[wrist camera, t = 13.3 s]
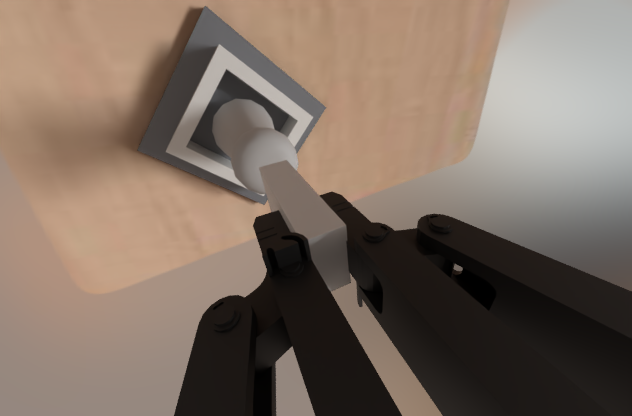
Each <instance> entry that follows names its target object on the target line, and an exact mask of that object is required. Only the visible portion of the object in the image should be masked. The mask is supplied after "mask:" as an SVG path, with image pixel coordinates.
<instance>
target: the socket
mask: <svg viewBox="0 0 632 416" xmlns="http://www.w3.org/2000/svg"><path fill="white" fill-rule="evenodd" d="M234 99H247V100H252V101H254V102H255V103H257V104H259V105H261V106H263V107H264V109H265V110H266V111H267V113H268V114H269V116H270V117H271V118H272V122H273V125H274V129H275V130H276V131H278V132H280V133H282V134H284V135H286V136H287V138H288V139H289V140H290V142H291V143H292V145H293V146H294V148H295V150H296V153H298V151H299V149H300V148H301V146H302V145H303V143H304V142H305V140H306V138H307V137H308V135H309V134H310V132H311V131H312V129H313V127H314V126H315V124H316V123H317V121H318V120H319V118H320V116H321V115H322V113H323V112H324V110H325V109H326V107H325V106H324V105H323V104H321V103H320V102H319V101H318V100H317V99H316V98H314V97H313V96H312V95H311V94H310V93H308V92H307V91H306V90H305V89H304V88H302V87H301V86H300V85H299V84H298V83H297V82H295V81H294V80H293V79H292V78H291V77H289V76H288V75H287V74H286V73H285V72H283V71H282V70H281V69H280V68H279V67H278V66H276V65H275V64H274V63H273V62H272V61H270V60H269V59H268V58H267V57H266V56H264V55H263V54H262V53H261V52H260V51H258V50H257V49H256V48H255V47H254V46H253V45H251V44H250V43H249V42H248V41H247V40H245V39H244V38H243V37H242V36H241V35H239V34H238V33H237V32H236V31H235V30H234V29H232V28H231V27H230V26H229V25H228V24H226V23H225V22H224V21H223V20H222V19H220V18H219V17H218V16H217V15H216V14H215V13H213V12H212V11H211V10H210V9H209V8H207V7H206V6H205V7H204V9H203V11H202V13H201V15H200V17H199V20H198V22H197V24H196V26H195V28H194V30H193V32H192V35H191V37H190V39H189V41H188V43H187V45H186V47H185V49H184V52H183V54H182V56H181V58H180V60H179V62H178V64H177V67H176V69H175V71H174V73H173V75H172V77H171V79H170V82H169V84H168V86H167V88H166V90H165V92H164V94H163V96H162V99H161V101H160V103H159V105H158V107H157V109H156V111H155V114H154V116H153V118H152V120H151V122H150V124H149V126H148V129H147V131H146V133H145V135H144V137H143V139H142V141H141V143H140V146H139V148H138V151H140V152H142V153H145V154H147V155H149V156H152V157H154V158H156V159H159V160H161V161H163V162H166V163H168V164H170V165H172V166H175V167H177V168H179V169H182V170H184V171H186V172H189V173H191V174H193V175H196V176H198V177H200V178H203V179H205V180H207V181H210V182H212V183H214V184H217V185H219V186H221V187H224V188H226V189H228V190H231V191H233V192H235V193H238V194H240V195H242V196H245V197H247V198H249V199H252V200H254V201H256V202H259V203H261V204H263V205H265V203H266V201H267V200H268V198H267V195H266V194H259V193H256V192H253V191H250V190H248V189H247V188H246V187H245V186H244V185H243V184H242V183H241V182H240V181H239V180H238V179H237V178H236V177H235V174H234V171H233V168H232V164H231V158H230V157H229V156H228V155H226V154H225V153H224V152H223V151H222V150H221V149H220V148H219V147H218V146H217V145H216V142H215V138H214V135H213V132H212V127H213V118H214V115H215V114H216V113H217V111H218V110H219V109H220V107H221V106H222V105H223V104H225V103H227V102H230V101H232V100H234Z"/></svg>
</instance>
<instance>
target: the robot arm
mask: <svg viewBox="0 0 632 416" xmlns="http://www.w3.org/2000/svg"><path fill="white" fill-rule="evenodd" d="M259 170H260V174H261V177H262V181H263V184H264V188H265V191H266V195H267V198H268V202H269V206H270V209H271V213H268V214H265V215H262V216H259V217H256V219H255V222H254V225H253V227H254V230H255V233H256V236H257V239H258V242H259V245H260V248H261V251H262V257H263V260H264V262H265V265H266V268H267V273H266V277H265V279H264V281H263V282H262V283H261V285H260V286H259V287H258V288H257V289H256V290H254V291H253V292H252V293H250V294H249V295H248V296H246V297H242V296H239V295H234V296H227V297H225V298H222V299H219V300H218V301H217V302H215V303H214V304H212V305H211V306H210V307H209V308H208V309H207V310H206V312H205V313H204V314H203V316H202V318H201V320H200V322H199V325H198V329H197V332H196V337H195V340H194V344H193V347H192V351H191V355H190V358H189V362H188V366H187V370H186V373H185V377H184V381H183V384H182V388H181V392H180V396H179V399H178V403H177V406H176V410H175V414H174V416H276V368H275V362H276V361H277V360H278V359H279V358H280V357H281V356H282V355H283V354H284V353H285V352H286V351H287V350H289V348H291V347H292V346H293V349H294V352H295V355H296V358H297V361H298V364H299V368H300V371H301V374H302V376H303V380H304V383H305V386H306V388H307V392H308V395H309V398H310V401H311V404H312V406H313V410H314V413H315V416H402V415H401V413H400V411H399V409H398V408H397V406H396V404H395V403H394V401H393V399H392V397H391V396H390V394H389V392H388V390H387V389H386V387H385V385H384V384H383V382H382V380H381V378H380V377H379V375H378V373H377V372H376V370H375V368H374V366H373V364H372V363H371V361H370V359H369V358H368V356H367V354H366V353H365V351H364V349H363V347H362V346H361V344H360V342H359V340H358V339H357V337H356V335H355V333H354V332H353V330H352V328H351V327H350V325H349V323H348V321H347V320H346V318H345V316H344V315H343V313H342V311H341V309H340V308H339V306H338V304H337V302H336V301H335V299H334V297H333V295H332V294H331V291H333V290H336V289H338V288H340V287H342V286H344V285H347V284H349V283H351V280H350V273H351V275H352V276H353V277H354V279H355V280H356V282H357V300H358V304H359V307H362V299H363V301H364V302H365V304H366V305H367V306H368V308H369V309H370V311H371V312H372V314H373V315H374V317H375V318H376V319H377V321H378V322H379V324H380V325H381V327H382V328H383V329H384V331H385V332H386V334H387V335H388V337H389V338H390V340H391V341H392V343H393V344H394V346H395V347H396V348H397V350H398V351H399V353H400V354H401V356H402V357H403V358H404V360H405V361H406V363H407V364H408V366H409V367H410V369H411V370H412V372H413V373H414V374H415V376H416V377H417V379H418V380H419V382H420V383H421V385H422V386H423V387H424V389H425V390H426V392H427V393H428V395H429V396H430V398H431V399H432V401H433V402H434V403H435V405H436V406H437V408H438V409H439V411H440V412H441V414H442V415H443V416H632V292H631V291H629V290H626V289H624V288H622V287H619V286H617V285H614V284H612V283H610V282H607V281H605V280H602V279H600V278H597V277H595V276H593V275H590V274H588V273H585V272H583V271H581V270H578V269H576V268H573V267H571V266H568V265H566V264H563V263H561V262H559V261H556V260H554V259H552V258H549V257H546V256H544V255H542V254H539V253H537V252H535V251H532V250H530V249H527V248H525V247H522V246H520V245H518V244H515V243H512V242H510V241H508V240H506V239H503V238H501V237H498V236H496V235H493V234H491V233H489V232H486V231H484V230H481V229H479V228H476V227H474V226H472V225H469V224H467V223H464V222H462V221H460V220H457V219H455V218H452V217H449V216H446V215H441V214H430V215H426V216H424V217H421V218H420V219H419V221H418V225H417V228H416V229H407V230H399V231H394V230H393V229H392V228H390V227H389V226H387V225H385V224H382V223H371V222H370V221H369V220H368V219H367V218H366V217H365V216H364V215H363V214H361V213H360V212H359V211H358V210H357V209H356V208H355V207H353V206H352V204H351V203H350V202H348V201H347V200H346V199H345V198H344V197H343V196H342V195H340V194H337V193H334V192H329V193H326V194H323V195H320V196H319V195H318V194H317V193H316V192H315V191H314V189H313V188H312V187H311V186H310V185H309V184H308V183H307V182H306V181H305V180H304V179H303V177H302V176H301V175H300V174H299V173H298V172H297V171H296V170H295V169H294V168H293V167H292V165H291V164H290V163H289V162H288V161H287V160H284V161H281V162H277V163H273V164H270V165H266V166H262V167H259ZM454 264H457V265H459V266H461V267H462V268H463V270H462V271H456V270H454V269H453V268H454Z"/></svg>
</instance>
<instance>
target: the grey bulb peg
mask: <svg viewBox="0 0 632 416" xmlns="http://www.w3.org/2000/svg"><path fill="white" fill-rule="evenodd" d="M212 132H213V135H214V138H215V142H216V145H217V146H218V147H219V148H220V149H221V150H222V151H223V152H224V153H225V154H226V155H228V156H229V157H230V158H231V164H232V168H233V171H234V174H235V177H236V178H237V179H238V180H239V181H240V182H241V183H242V184H243V185H244V186H245V187H246V188H247V189H248V190H250V191H253V192H256V193H259V194H266V191H265V188H264V184H263V181H262V177H261V174H260V170H259V167H262V166H266V165H270V164H273V163H277V162H281V161H284V160H287V161H288V162H289V163H290V164H291V165H292V167H293V168H294V169H295V170H296V171H297V167H298V159H297V153H296V150H295V148H294V146H293V145H292V143H291V142H290V140H289V139H288V138H287V136H286V135H284V134H282V133H280V132H278V131H276V130H275V129H274V125H273V122H272V118H271V117H270V116H269V114H268V113H267V111H266V110H265V109H264V107H263V106H261V105H259V104H257V103H255V102H254V101H252V100H247V99H234V100H232V101H230V102H227V103H225V104H223V105H222V106H221V107H220V109H219V110H218V111H217V113H216V114H215V115H214V118H213V127H212Z"/></svg>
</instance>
